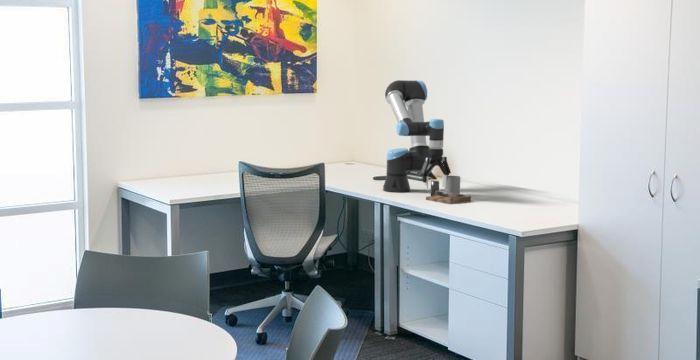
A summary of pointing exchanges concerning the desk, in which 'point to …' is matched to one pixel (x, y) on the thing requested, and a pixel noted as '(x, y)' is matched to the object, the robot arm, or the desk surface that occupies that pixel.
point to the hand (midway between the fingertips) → (435, 187)
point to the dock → (456, 199)
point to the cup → (453, 184)
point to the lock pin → (436, 188)
